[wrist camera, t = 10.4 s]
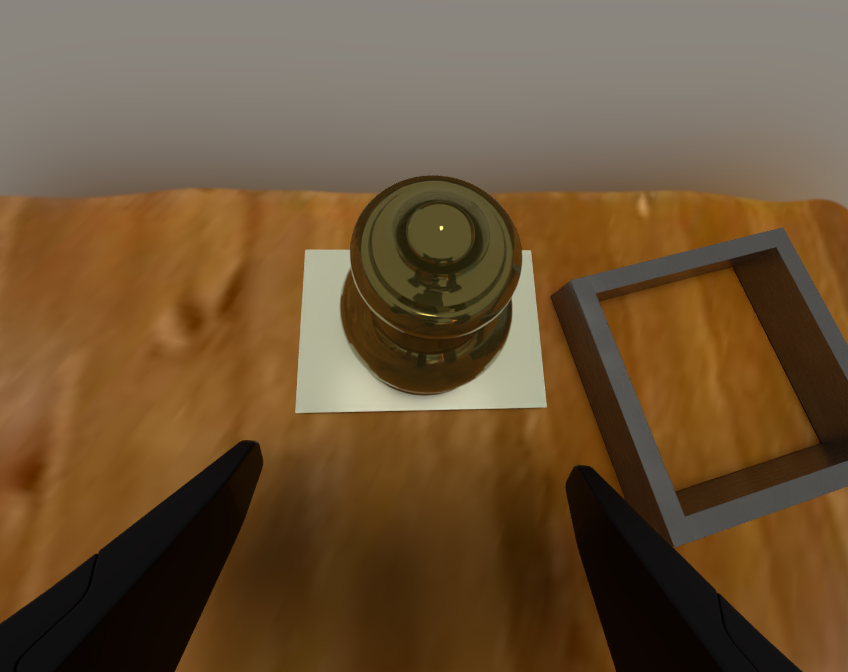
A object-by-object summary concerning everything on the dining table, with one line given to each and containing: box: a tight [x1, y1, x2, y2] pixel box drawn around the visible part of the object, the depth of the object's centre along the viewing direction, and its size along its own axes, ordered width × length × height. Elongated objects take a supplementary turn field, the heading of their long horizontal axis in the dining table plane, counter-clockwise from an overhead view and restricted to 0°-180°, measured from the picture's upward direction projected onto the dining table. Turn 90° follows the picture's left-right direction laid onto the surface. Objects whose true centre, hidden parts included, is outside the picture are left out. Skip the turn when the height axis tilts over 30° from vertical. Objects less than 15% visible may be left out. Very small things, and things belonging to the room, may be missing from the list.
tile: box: [295, 250, 547, 413], centre depth 18 cm, size 13×9×1 cm
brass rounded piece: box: [339, 175, 522, 396], centre depth 13 cm, size 7×7×10 cm
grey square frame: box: [551, 228, 848, 547], centre depth 18 cm, size 13×13×2 cm
